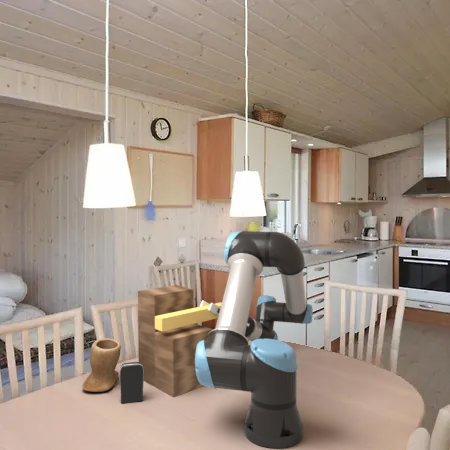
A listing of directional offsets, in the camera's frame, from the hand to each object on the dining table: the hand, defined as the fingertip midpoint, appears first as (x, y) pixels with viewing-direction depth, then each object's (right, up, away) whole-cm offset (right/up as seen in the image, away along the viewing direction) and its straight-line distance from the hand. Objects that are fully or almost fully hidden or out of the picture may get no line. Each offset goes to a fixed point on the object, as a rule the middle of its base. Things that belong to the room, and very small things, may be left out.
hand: (205, 305), depth 148 cm
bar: (-4, -5, -3) cm, 7 cm away
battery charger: (-22, -26, -16) cm, 38 cm away
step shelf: (-10, -25, -2) cm, 27 cm away
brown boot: (-33, -26, -5) cm, 42 cm away
